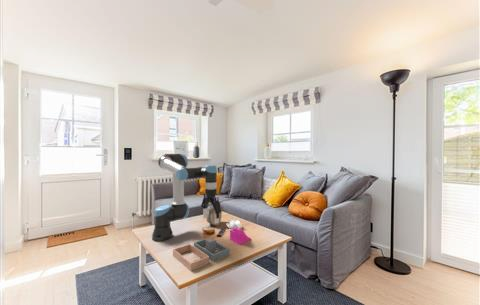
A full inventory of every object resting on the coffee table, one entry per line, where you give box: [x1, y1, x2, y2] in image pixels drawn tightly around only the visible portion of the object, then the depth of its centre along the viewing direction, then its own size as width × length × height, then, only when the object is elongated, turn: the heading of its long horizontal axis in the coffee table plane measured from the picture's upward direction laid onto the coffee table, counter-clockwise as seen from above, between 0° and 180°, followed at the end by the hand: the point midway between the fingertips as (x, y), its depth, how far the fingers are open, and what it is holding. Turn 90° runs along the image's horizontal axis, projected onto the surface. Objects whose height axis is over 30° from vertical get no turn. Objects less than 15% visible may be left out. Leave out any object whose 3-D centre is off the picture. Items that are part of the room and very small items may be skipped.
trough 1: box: [172, 243, 210, 272], centre depth 130 cm, size 23×12×4 cm, turn 42°
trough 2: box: [193, 237, 230, 262], centre depth 140 cm, size 23×12×4 cm, turn 42°
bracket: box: [229, 228, 252, 245], centre depth 159 cm, size 12×10×10 cm
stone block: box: [205, 237, 217, 254], centre depth 140 cm, size 5×5×8 cm
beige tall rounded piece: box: [205, 204, 223, 227], centre depth 192 cm, size 17×9×23 cm, turn 164°
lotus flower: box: [225, 218, 243, 231], centre depth 182 cm, size 14×15×9 cm
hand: (210, 220), depth 140 cm, fingers open, 13 cm apart
